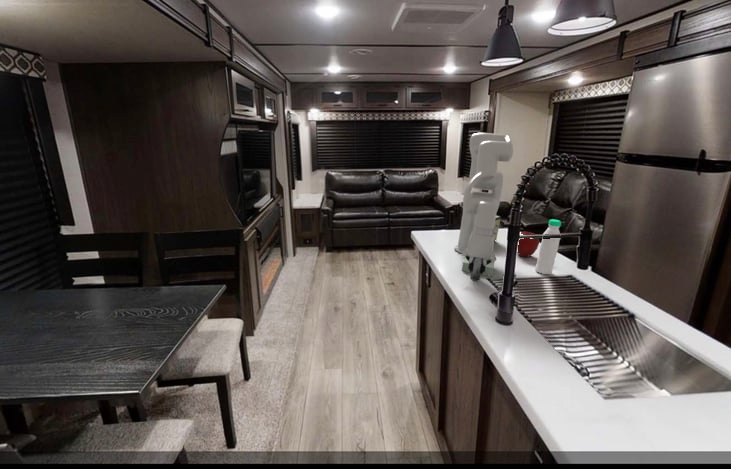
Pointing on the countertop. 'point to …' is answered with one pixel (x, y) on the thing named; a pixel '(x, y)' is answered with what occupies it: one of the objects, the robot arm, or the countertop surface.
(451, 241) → the countertop surface
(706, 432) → the countertop surface
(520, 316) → the countertop surface
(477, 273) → the peg
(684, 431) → the countertop surface
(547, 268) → the water bottle
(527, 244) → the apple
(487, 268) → the socket block
